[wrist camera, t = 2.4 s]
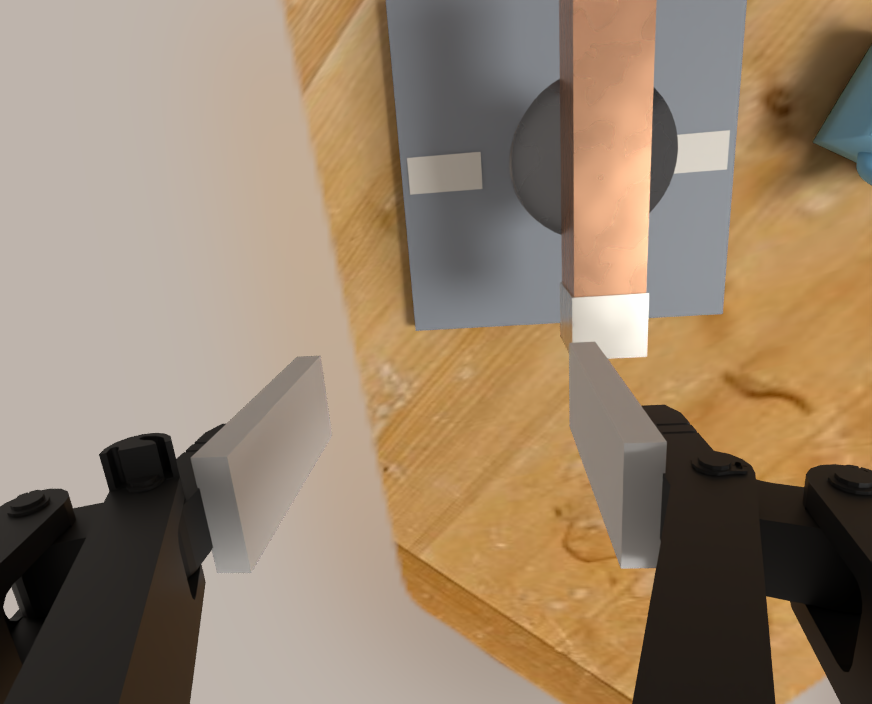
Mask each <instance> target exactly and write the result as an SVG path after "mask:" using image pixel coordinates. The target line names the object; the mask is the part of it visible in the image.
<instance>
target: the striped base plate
mask: <svg viewBox="0 0 872 704" xmlns="http://www.w3.org/2000/svg"><path fill="white" fill-rule="evenodd" d="M746 4H747V0H657V3H656V32H655V60H654V88H655V89H656V90H657V91H658V92H659V93H660V95H661V96H662V97H663V99H664V100H665V102H666V103H667V105H668V106H669V109H670V111H671V113H672V115H673V118H674V122H675V125H676V130H677V136H678V154H677V162H676V167H675V171H674V174H673V177H672V179H671V182H670V184H669V186H668V188H667V190H666V192H665V194H664V196H663V197H662V199H661V200H660V201H659V203H658V204H657V205H656V207H655V208H654V209H653V210H652V211H651V212H650V213H649V230H648V258H647V287H646V291H647V292H648V293H649V312H648V318H657V317H675V316H693V315H711V314H723V301H724V288H725V275H726V262H727V249H728V237H729V224H730V211H731V198H732V185H733V172H734V159H735V146H736V133H737V120H738V107H739V94H740V81H741V69H742V56H743V43H744V30H745V17H746ZM386 9H387V20H388V31H389V42H390V53H391V64H392V75H393V86H394V97H395V108H396V119H397V130H398V141H399V152H400V163H401V174H402V185H403V196H404V206H405V217H406V228H407V239H408V250H409V261H410V272H411V283H412V294H413V305H414V316H415V327H416V331H419V330H438V329H456V328H474V327H492V326H511V325H529V324H547V323H560V282H562V246H561V235H560V234H558V233H555V232H553V231H551V230H550V229H548V228H546V227H545V226H543V225H542V224H540V223H539V222H538V221H536V220H535V219H534V218H533V217H532V216H531V215H530V214H529V213H528V212H527V211H526V210H525V209H524V207H523V206H522V205H521V203H520V202H519V200H518V198H517V196H516V194H515V192H514V189H513V186H512V183H511V178H510V172H509V153H510V147H511V142H512V139H513V135H514V133H515V131H516V128H517V126H518V124H519V122H520V120H521V119H522V117H523V115H524V114H525V112H526V111H527V109H528V108H529V106H530V105H531V104H532V102H533V101H534V100H535V99H536V98H537V96H538V95H539V94H540V93H541V92H542V91H543V90H545V89H546V88H547V87H548V86H549V85H551V84H552V83H554V82H555V81H557V80H558V79H560V51H559V0H386Z"/></svg>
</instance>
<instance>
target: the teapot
mask: <svg viewBox="0 0 872 704" xmlns="http://www.w3.org/2000/svg"><path fill="white" fill-rule="evenodd" d="M813 143H815V144H817V145H819V146H821V147H824V148H826V149H828V150H830V151H832V152H834V153H837V154H839V155H841V156H843V157H845V158H847V159H849V160H852V161H854V162H856V163H857V167H856V169H857V171H858V174H859V175H860V177H861V178H862V179H863V180H864V181H866V182H867V183H868V184H870V185H872V45H871V46H870V48H869V50H868V51H867V53H866V55H865V56H864V58H863V60H862V61H861V63H860V64H859V66H858V68H857V69H856V71H855V73H854V74H853V76H852V78H851V79H850V81H849V83H848V84H847V86H846V88H845V89H844V91H843V92H842V94H841V96H840V97H839V99H838V101H837V102H836V104H835V106H834V107H833V109H832V111H831V112H830V114H829V116H828V117H827V119H826V121H825V122H824V124H823V126H822V127H821V129H820V131H819V132H818V134H817V136H816V137H815V139H814V141H813Z"/></svg>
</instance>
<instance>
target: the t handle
mask: <svg viewBox="0 0 872 704" xmlns="http://www.w3.org/2000/svg"><path fill="white" fill-rule="evenodd" d="M656 3H657V0H559V51H560V79H558V80H557V81H555V82H554V83H552V84H551V85H549V86H548V87H547V88H546V89H545V90H543V91H542V92H541V93H540V94H539V95H538V96H537V98H536V99H535V100H534V101H533V102H532V104H531V105H530V106H529V108H528V109H527V111H526V112H525V114H524V115H523V117H522V119H521V120H520V122H519V124H518V126H517V128H516V131H515V133H514V135H513V139H512V142H511V147H510V153H509V172H510V178H511V183H512V186H513V189H514V192H515V194H516V196H517V198H518V200H519V202H520V203H521V205H522V206H523V207H524V209H525V210H526V211H527V212H528V213H529V214H530V215H531V216H532V217H533V218H534V219H535V220H536V221H538V222H539V223H540V224H542V225H543V226H545V227H546V228H548V229H550V230H551V231H553V232H555V233H558V234H560V235H561V246H562V282H560V337H561V339H562V341H563V343H564V345H565V346H566V348H567V350H568V352H569V343H576V342H596V343H597V345H598V346H599V348H600V349H601V350H602V352H603V353H604V355H605V356H606V357H607V359H609V358H630V357H647V339H648V312H649V293H648V292H647V291H646V287H647V258H648V230H649V213H650V212H651V211H652V210H653V209H654V208H655V207H656V205H657V204H658V203H659V201H660V200H661V199H662V197H663V196H664V194H665V192H666V190H667V188H668V186H669V184H670V182H671V179H672V177H673V174H674V171H675V167H676V162H677V154H678V136H677V130H676V125H675V122H674V118H673V115H672V113H671V111H670V109H669V106H668V105H667V103H666V102H665V100H664V99H663V97H662V96H661V95H660V93H659V92H658V91H657V90H656V89H655V88H654V60H655V32H656Z"/></svg>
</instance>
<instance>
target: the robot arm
mask: <svg viewBox="0 0 872 704" xmlns="http://www.w3.org/2000/svg"><path fill="white" fill-rule="evenodd" d="M569 397H570V429H571V432H572V434H573V437H574V440H575V443H576V445H577V448H578V451H579V454H580V457H581V459H582V462H583V465H584V468H585V470H586V473H587V476H588V479H589V481H590V484H591V487H592V490H593V492H594V495H595V498H596V501H597V504H598V506H599V509H600V512H601V515H602V517H603V520H604V523H605V526H606V528H607V531H608V534H609V537H610V540H611V542H612V545H613V548H614V551H615V553H616V556H617V559H618V562H619V564H620V567H621V568H656V572H655V578H654V583H653V589H652V595H651V600H650V606H649V612H648V617H647V623H646V629H645V634H644V640H643V646H642V652H641V657H640V663H639V669H638V674H637V680H636V686H635V691H634V697H633V703H632V704H775V693H774V682H773V671H772V659H771V648H770V636H769V625H768V614H767V602H766V596H768V597H773V598H778V599H783V600H788V601H790V603H791V607H792V609H793V611H794V613H795V615H796V617H797V619H798V621H799V623H800V625H801V627H802V629H803V631H804V633H805V635H806V637H807V639H808V641H809V643H810V645H811V646H812V648H813V650H814V652H815V654H816V656H817V658H818V660H819V662H820V664H821V666H822V668H823V670H824V672H825V674H826V676H827V678H828V680H829V682H830V683H831V685H832V687H833V689H834V691H835V693H836V695H837V697H838V699H839V701H840V703H841V704H872V471H871V470H869V469H866V468H862V467H861V468H859V467H858V466H853V465H836V464H833V465H820V466H817V467H814V468H811V469H810V470H809V471H808V472H807V474H806V479H805V486H804V487H798V486H790V485H783V484H775V483H769V482H764V481H760V480H756V477H755V472H754V470H753V468H752V466H751V465H750V464H748V463H747V462H745V461H744V460H743V459H740V458H738V457H735V456H733V455H730V454H727V453H722V452H717V451H713V449H712V448H711V447H710V446H709V445H708V444H707V442H706V441H705V440H704V439H703V438H702V437H701V435H700V434H699V433H697V431H696V430H695V429H694V427H693V426H692V425H690V423H689V422H688V420H687V419H686V418H685V417H684V416H683V415H682V414H681V413H680V412H678V411H676V410H674V409H672V408H670V407H668V406H666V405H646V406H641V405H640V404H639V402H638V401H637V399H636V398H635V397H634V395H633V394H632V392H631V391H630V390H629V388H628V387H627V385H626V384H625V383H624V381H623V380H622V378H621V377H620V376H619V374H618V373H617V371H616V370H615V369H614V367H613V366H612V364H611V363H610V362H609V360H608V359H607V357H606V356H605V355H604V353H603V352H602V350H601V349H600V348H599V346H598V345H597V343H596V342H576V343H569ZM331 436H332V431H331V424H330V417H329V411H328V403H327V397H326V390H325V383H324V376H323V370H322V363H321V356H304V357H296V358H295V359H294V360H293V361H292V362H291V363H290V364H289V365H288V366H287V367H286V368H285V369H284V370H283V371H282V372H280V373H279V374H278V375H277V376H276V377H275V378H274V379H273V380H272V381H271V382H270V383H269V384H268V385H267V386H266V387H265V388H264V389H263V390H262V391H260V392H259V393H258V394H257V395H256V396H255V397H254V398H253V399H252V400H251V401H250V402H249V403H248V404H247V405H246V406H245V407H244V408H243V409H241V410H240V411H239V412H238V413H237V414H236V415H235V416H234V417H233V418H232V419H231V420H230V421H229V422H228V423H227V424H221V425H219V426H217V427H215V428H213V429H212V430H210V431H208V432H206V433H205V434H203V435H202V436H201V437H200V438H199V439H198V440H197V441H196V442H195V444H193V445H191V446H190V447H189V448H188V449H187V450H186V452H184V453H183V454H181V455H180V456H179V457H178V458H177V459H176V457H175V453H174V449H173V445H172V441H171V437H170V436H169V435H167V434H163V433H150V434H142V435H138V436H134V437H130V438H127V439H124V440H121V441H119V442H116V443H114V444H112V445H110V446H109V447H107V448H105V449H104V450H103V451H102V452H101V453H100V454H99V456H100V459H101V463H102V466H103V470H104V473H105V477H106V480H107V484H108V487H109V494H108V495H107V497H106V499H105V501H104V503H99V504H94V505H89V506H84V507H78V508H72V504H71V501H70V497H69V494H68V492H67V491H65V490H63V489H46V490H41V491H40V490H35V491H31V492H29V493H25V494H22V495H19V496H18V497H17V498H16V499H14V500H11V501H9V502H7V503H5V504H4V505H2V506H0V704H190V698H191V690H192V683H193V675H194V667H195V659H196V652H197V644H198V636H199V628H200V621H201V613H202V605H203V597H204V589H205V578H204V574H203V569H202V565H201V563H202V562H203V561H204V559H205V558H206V557H207V555H208V554H209V553H210V551H211V550H212V553H213V557H214V562H215V566H216V570H217V573H251V572H252V571H253V569H254V567H255V565H256V564H257V562H258V561H259V559H260V557H261V555H262V554H263V552H264V550H265V549H266V547H267V545H268V543H269V542H270V540H271V538H272V537H273V535H274V533H275V531H276V530H277V528H278V527H279V525H280V523H281V521H282V519H283V518H284V516H285V515H286V513H287V511H288V510H289V508H290V506H291V504H292V503H293V501H294V499H295V498H296V496H297V494H298V492H299V491H300V489H301V487H302V485H303V484H304V482H305V481H306V479H307V477H308V476H309V474H310V472H311V470H312V469H313V467H314V465H315V463H316V462H317V460H318V458H319V457H320V455H321V453H322V452H323V450H324V448H325V447H326V445H327V443H328V441H329V440H330V438H331ZM11 587H12V590H13V592H14V595H15V598H16V601H17V604H18V606H19V610H18V611H17V612H16V613H15V614H14V616H13V617H12V618H10V619H8V617H7V616H6V615H5V612H4V609H3V605H4V601H5V597H6V594H7V593H8V591H9V590H10V588H11Z"/></svg>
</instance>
